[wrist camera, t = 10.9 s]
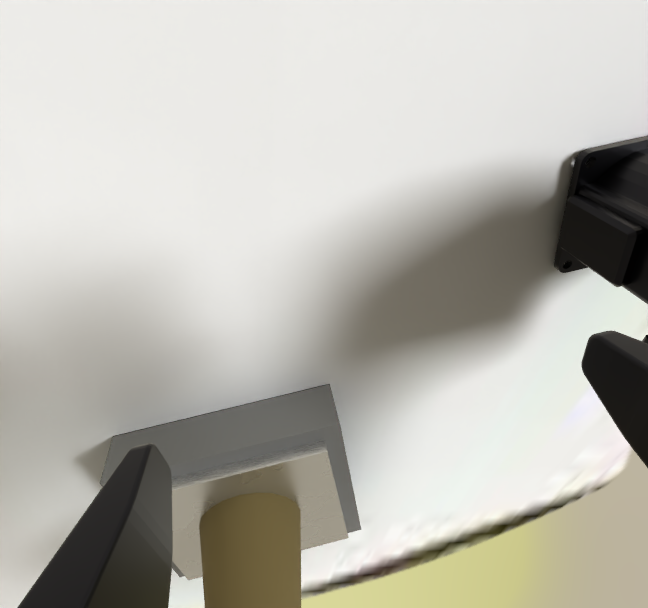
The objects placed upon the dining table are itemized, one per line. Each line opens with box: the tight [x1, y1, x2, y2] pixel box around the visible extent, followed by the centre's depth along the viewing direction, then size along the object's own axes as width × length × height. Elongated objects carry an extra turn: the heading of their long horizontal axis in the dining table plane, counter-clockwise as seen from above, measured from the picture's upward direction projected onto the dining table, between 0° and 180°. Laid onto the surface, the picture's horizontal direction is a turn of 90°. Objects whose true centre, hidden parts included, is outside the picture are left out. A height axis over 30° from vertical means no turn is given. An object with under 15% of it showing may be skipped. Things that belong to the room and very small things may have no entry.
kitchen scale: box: [100, 384, 361, 580], centre depth 27 cm, size 13×12×4 cm
